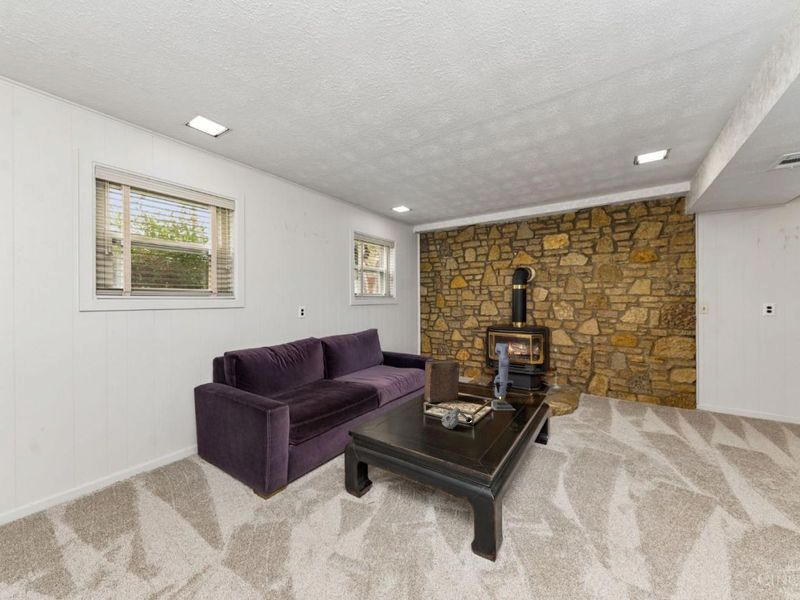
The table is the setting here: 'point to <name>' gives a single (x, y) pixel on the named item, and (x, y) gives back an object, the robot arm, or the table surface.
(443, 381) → the book
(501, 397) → the brass rounded knob
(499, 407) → the socket plate
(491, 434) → the table surface
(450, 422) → the mechanical valve
